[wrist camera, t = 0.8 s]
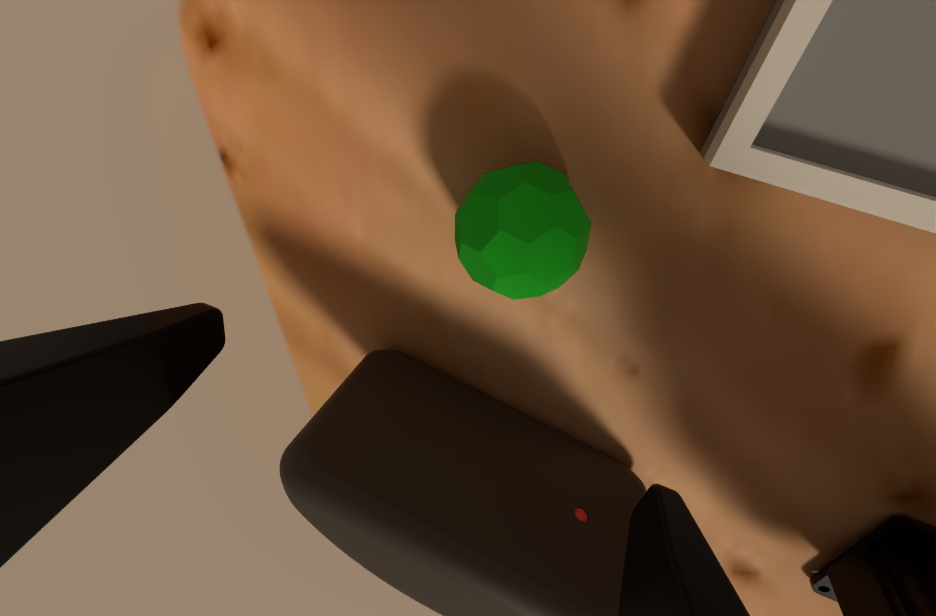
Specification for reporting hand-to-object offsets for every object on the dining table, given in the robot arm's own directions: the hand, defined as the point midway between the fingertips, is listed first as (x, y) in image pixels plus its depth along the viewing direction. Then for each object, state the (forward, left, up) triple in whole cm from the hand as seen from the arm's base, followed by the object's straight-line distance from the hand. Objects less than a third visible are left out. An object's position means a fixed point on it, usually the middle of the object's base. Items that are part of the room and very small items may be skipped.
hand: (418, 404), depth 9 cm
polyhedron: (0, 0, -12) cm, 12 cm away
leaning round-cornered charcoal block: (-2, +11, -12) cm, 17 cm away
